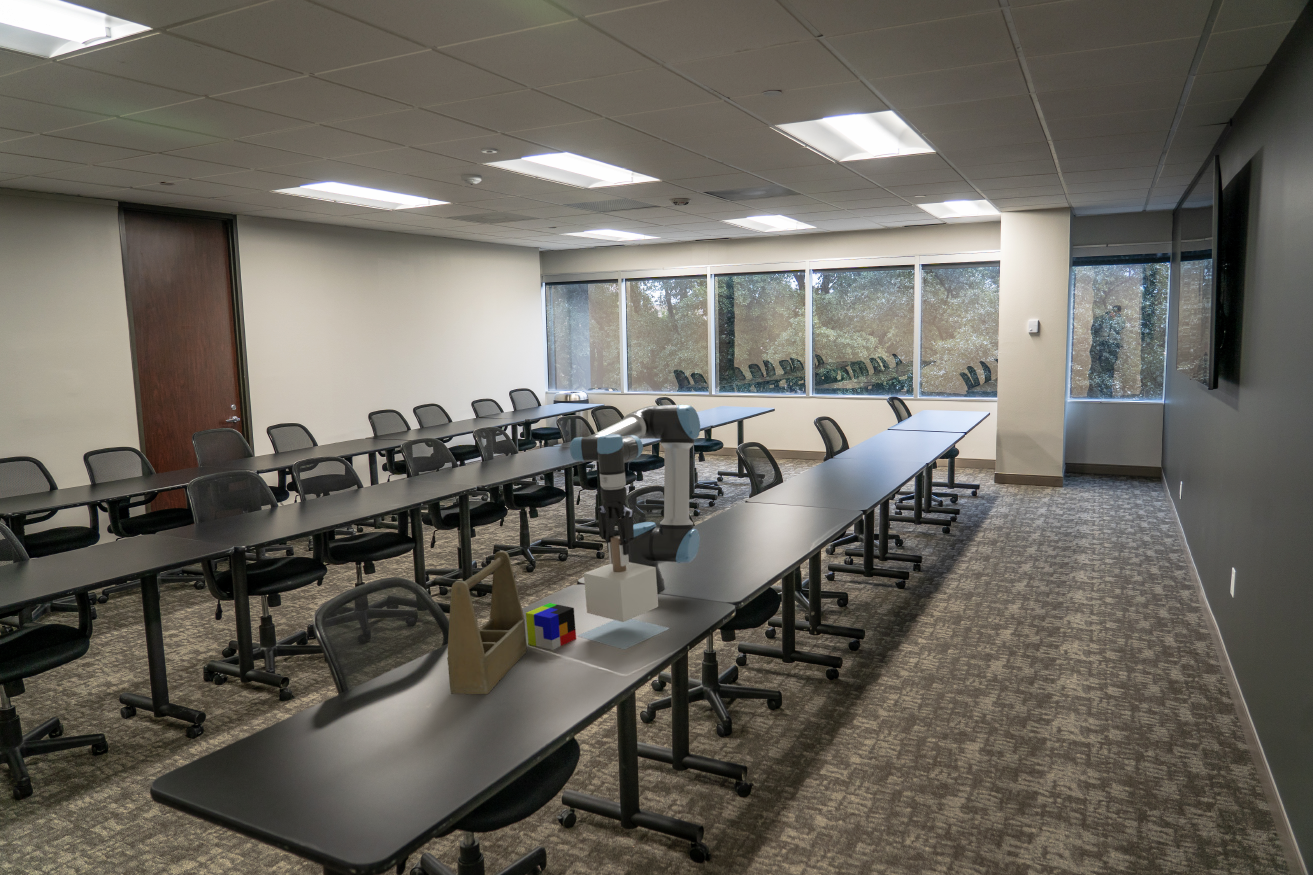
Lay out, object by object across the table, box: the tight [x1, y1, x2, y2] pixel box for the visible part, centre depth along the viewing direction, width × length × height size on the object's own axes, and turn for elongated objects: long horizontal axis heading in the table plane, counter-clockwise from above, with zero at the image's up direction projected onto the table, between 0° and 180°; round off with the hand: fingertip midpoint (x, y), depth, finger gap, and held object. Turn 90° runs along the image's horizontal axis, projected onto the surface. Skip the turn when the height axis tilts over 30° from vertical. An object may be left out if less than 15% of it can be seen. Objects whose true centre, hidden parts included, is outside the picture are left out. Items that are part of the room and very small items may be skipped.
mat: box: [576, 618, 671, 650], centre depth 250 cm, size 20×20×1 cm
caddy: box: [447, 550, 528, 695], centre depth 226 cm, size 29×11×30 cm, turn 168°
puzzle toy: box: [525, 602, 577, 651], centre depth 246 cm, size 10×10×10 cm
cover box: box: [583, 535, 659, 622], centre depth 248 cm, size 15×15×22 cm
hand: (619, 563), depth 248 cm, fingers closed on cover box, 4 cm apart
